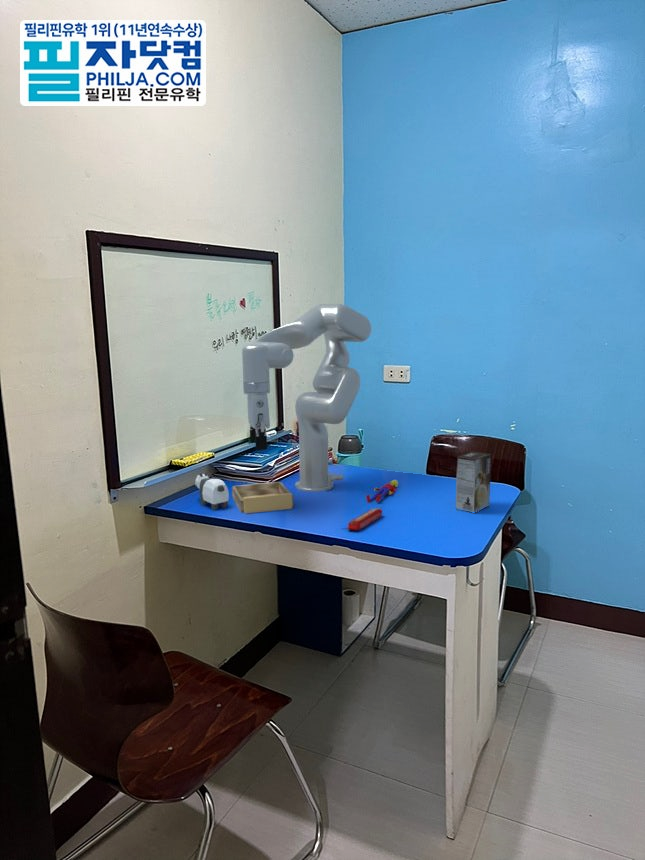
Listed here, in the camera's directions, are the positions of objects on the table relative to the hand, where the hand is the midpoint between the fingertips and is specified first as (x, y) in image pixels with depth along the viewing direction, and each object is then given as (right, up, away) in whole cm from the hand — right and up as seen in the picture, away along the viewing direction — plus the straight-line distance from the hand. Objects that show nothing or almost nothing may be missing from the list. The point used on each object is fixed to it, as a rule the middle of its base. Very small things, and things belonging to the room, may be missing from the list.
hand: (258, 446), depth 184 cm
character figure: (+38, -16, +16) cm, 45 cm away
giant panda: (-15, -18, +6) cm, 24 cm away
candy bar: (+30, -22, -10) cm, 39 cm away
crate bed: (0, -18, +7) cm, 19 cm away
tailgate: (+3, -19, -1) cm, 19 cm away
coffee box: (+63, -19, +2) cm, 66 cm away
